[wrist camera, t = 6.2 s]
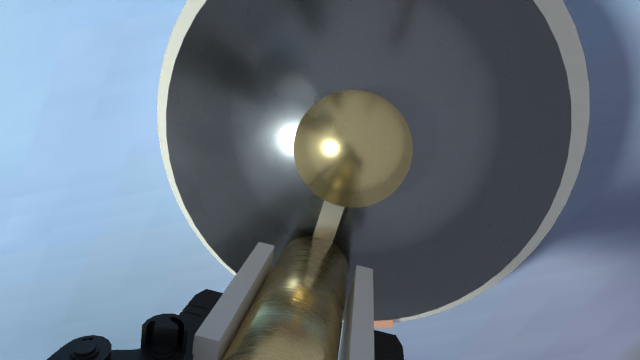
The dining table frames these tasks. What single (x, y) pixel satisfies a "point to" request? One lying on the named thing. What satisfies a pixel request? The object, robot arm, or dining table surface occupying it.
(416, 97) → the handwheel
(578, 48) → the wheel base
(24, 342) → the dining table surface
